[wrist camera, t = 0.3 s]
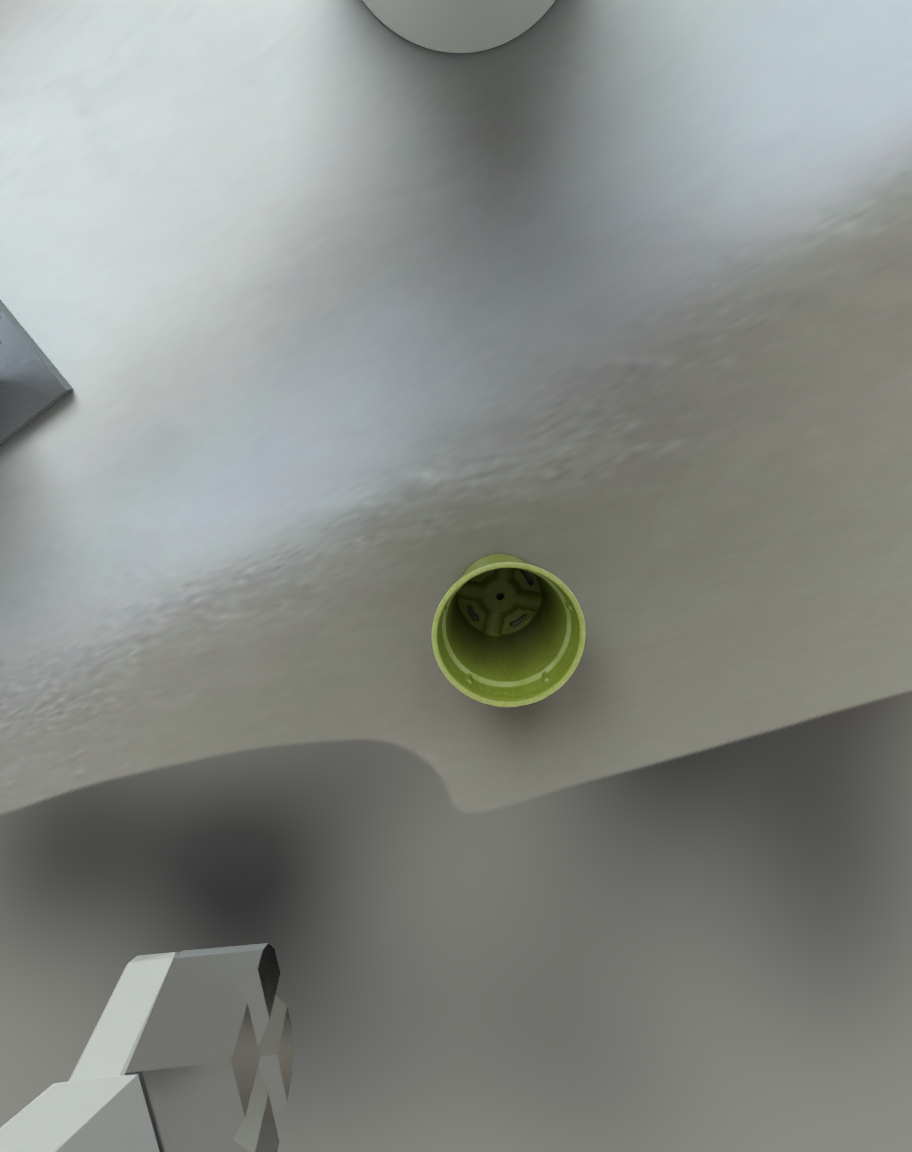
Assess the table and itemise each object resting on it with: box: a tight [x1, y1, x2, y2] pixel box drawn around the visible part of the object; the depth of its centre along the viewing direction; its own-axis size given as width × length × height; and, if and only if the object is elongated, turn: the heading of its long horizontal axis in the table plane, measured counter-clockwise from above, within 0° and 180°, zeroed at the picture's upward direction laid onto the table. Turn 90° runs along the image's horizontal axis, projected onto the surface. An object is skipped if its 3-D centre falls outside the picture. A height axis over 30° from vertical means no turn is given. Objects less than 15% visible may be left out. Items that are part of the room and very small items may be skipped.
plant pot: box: [431, 554, 586, 707], centre depth 53 cm, size 9×9×9 cm
